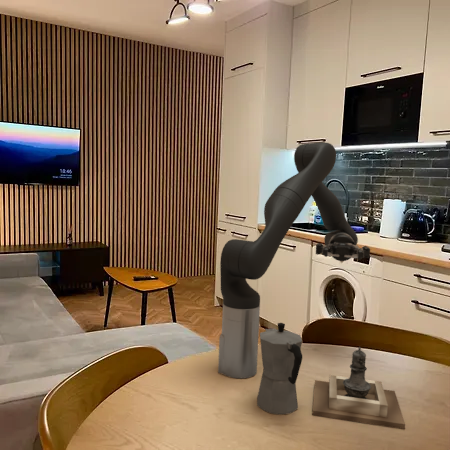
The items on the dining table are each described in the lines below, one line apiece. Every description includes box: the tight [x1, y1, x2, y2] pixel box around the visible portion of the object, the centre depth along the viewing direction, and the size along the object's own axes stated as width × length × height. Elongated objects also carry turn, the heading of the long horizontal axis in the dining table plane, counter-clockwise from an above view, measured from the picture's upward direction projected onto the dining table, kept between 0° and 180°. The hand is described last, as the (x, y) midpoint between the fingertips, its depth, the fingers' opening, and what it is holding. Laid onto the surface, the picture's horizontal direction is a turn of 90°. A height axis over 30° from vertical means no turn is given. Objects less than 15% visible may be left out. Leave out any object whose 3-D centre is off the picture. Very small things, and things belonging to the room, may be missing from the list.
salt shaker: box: [343, 346, 371, 399], centre depth 97 cm, size 6×6×12 cm
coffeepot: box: [256, 322, 303, 415], centre depth 95 cm, size 15×9×18 cm, turn 19°
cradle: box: [312, 374, 406, 430], centre depth 97 cm, size 18×15×4 cm
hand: (343, 254), depth 116 cm, fingers open, 8 cm apart
